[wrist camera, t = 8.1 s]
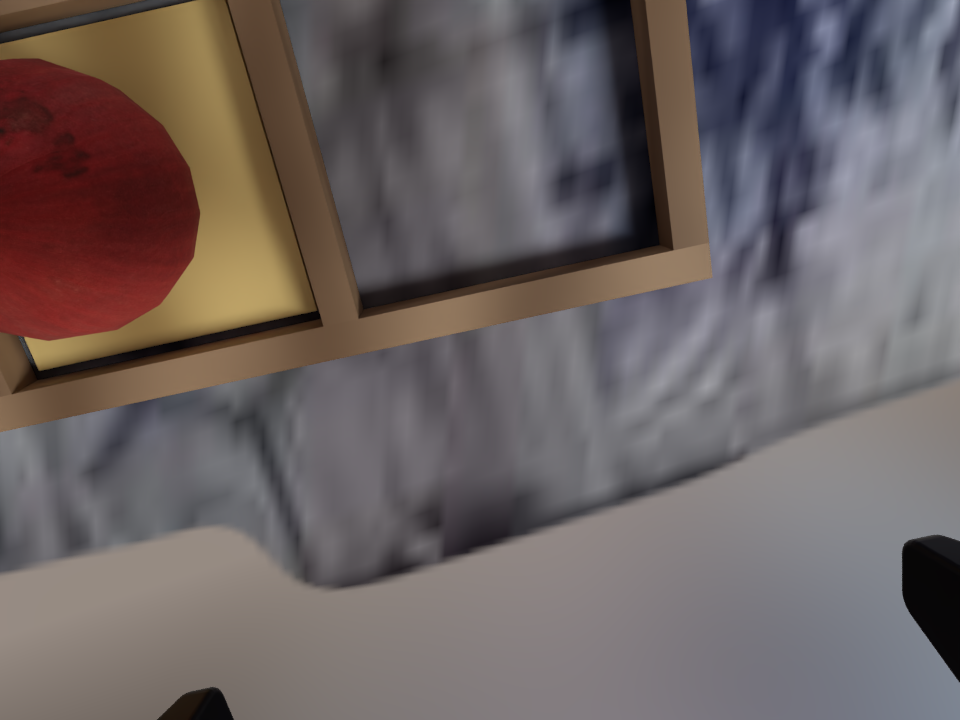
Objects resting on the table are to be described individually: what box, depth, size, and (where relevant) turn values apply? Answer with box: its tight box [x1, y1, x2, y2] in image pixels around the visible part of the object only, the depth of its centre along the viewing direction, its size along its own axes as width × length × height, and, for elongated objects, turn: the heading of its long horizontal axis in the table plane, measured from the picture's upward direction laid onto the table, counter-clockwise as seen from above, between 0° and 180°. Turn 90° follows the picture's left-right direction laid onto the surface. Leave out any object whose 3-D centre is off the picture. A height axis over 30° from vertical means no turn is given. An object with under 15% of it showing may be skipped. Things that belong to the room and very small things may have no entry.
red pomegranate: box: [0, 58, 200, 341], centre depth 14 cm, size 6×6×8 cm
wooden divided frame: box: [0, 0, 712, 432], centre depth 17 cm, size 21×11×1 cm, turn 102°
